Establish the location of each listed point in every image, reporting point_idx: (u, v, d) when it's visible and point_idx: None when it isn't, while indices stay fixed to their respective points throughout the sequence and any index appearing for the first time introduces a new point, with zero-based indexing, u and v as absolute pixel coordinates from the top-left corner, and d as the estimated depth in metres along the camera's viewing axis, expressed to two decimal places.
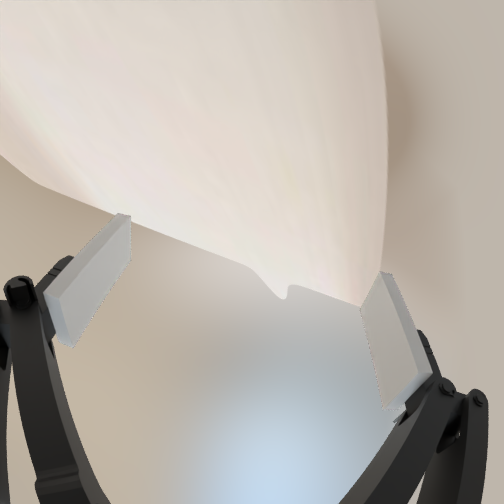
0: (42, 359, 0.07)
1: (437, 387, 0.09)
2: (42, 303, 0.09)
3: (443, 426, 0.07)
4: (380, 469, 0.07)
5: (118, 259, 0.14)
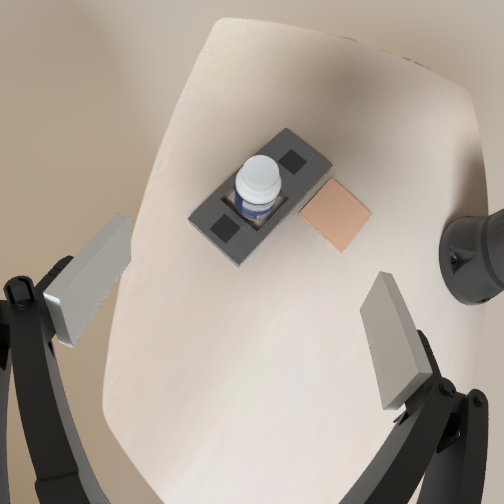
0: (42, 359, 0.07)
1: (437, 387, 0.09)
2: (42, 303, 0.09)
3: (443, 426, 0.07)
4: (380, 469, 0.07)
5: (118, 259, 0.14)
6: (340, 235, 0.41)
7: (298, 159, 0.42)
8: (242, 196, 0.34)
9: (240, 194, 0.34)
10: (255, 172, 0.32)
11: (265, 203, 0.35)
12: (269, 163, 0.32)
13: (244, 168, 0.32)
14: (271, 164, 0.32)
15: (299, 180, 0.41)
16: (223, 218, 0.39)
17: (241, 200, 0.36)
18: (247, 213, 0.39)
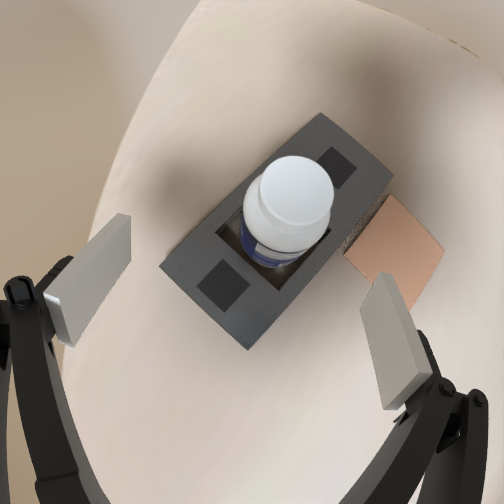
0: (42, 359, 0.07)
1: (437, 387, 0.09)
2: (42, 303, 0.09)
3: (443, 426, 0.07)
4: (380, 469, 0.07)
5: (118, 259, 0.14)
6: (405, 288, 0.24)
7: (344, 163, 0.25)
8: (257, 237, 0.18)
9: (253, 233, 0.18)
10: (287, 192, 0.15)
11: (300, 250, 0.18)
12: (314, 173, 0.16)
13: (263, 183, 0.15)
14: (318, 175, 0.16)
15: (347, 199, 0.24)
16: (220, 267, 0.22)
17: (255, 242, 0.19)
18: (263, 260, 0.22)
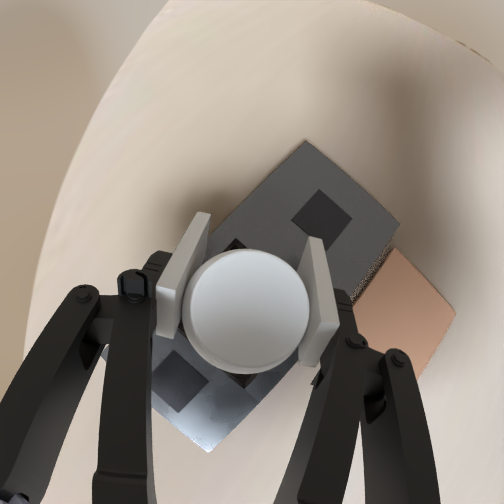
0: (143, 358, 0.08)
1: (344, 342, 0.10)
2: None
3: (362, 381, 0.09)
4: (308, 442, 0.07)
5: (201, 254, 0.16)
6: None
7: (335, 213, 0.20)
8: (201, 355, 0.12)
9: (195, 349, 0.12)
10: (232, 318, 0.10)
11: None
12: (279, 281, 0.10)
13: (195, 303, 0.10)
14: (285, 284, 0.10)
15: (337, 264, 0.19)
16: (171, 361, 0.17)
17: None
18: None
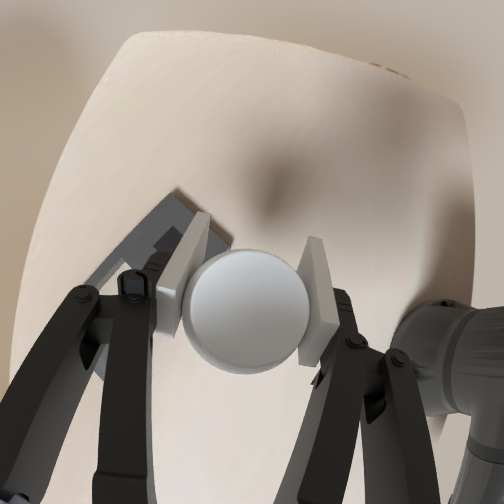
0: (142, 358, 0.08)
1: (344, 342, 0.10)
2: None
3: (362, 381, 0.09)
4: (307, 442, 0.07)
5: (201, 254, 0.16)
6: None
7: None
8: (201, 356, 0.12)
9: (195, 349, 0.12)
10: (232, 318, 0.10)
11: None
12: (279, 281, 0.10)
13: (195, 303, 0.10)
14: (285, 284, 0.10)
15: None
16: None
17: None
18: None
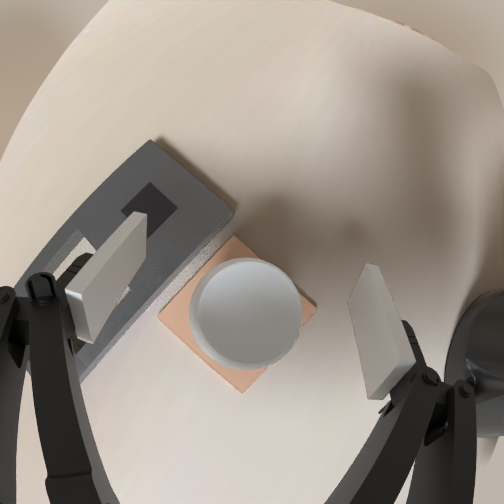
0: (61, 357, 0.07)
1: (420, 377, 0.09)
2: (63, 299, 0.10)
3: (429, 416, 0.08)
4: (367, 462, 0.07)
5: (135, 256, 0.14)
6: None
7: (161, 203, 0.21)
8: (206, 353, 0.13)
9: (201, 348, 0.14)
10: (234, 320, 0.11)
11: None
12: (275, 288, 0.11)
13: (202, 307, 0.11)
14: (281, 290, 0.11)
15: (156, 250, 0.20)
16: None
17: None
18: None
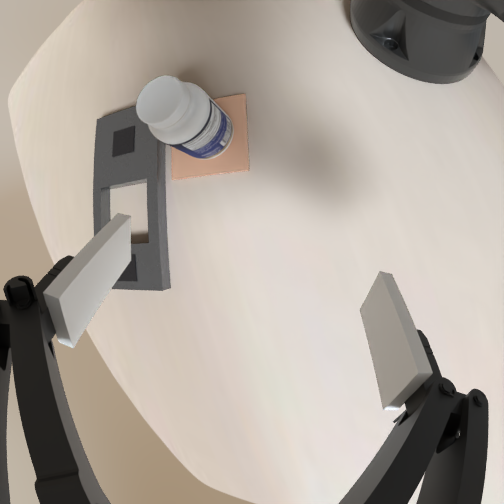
0: (42, 359, 0.07)
1: (437, 387, 0.09)
2: (42, 303, 0.09)
3: (443, 426, 0.07)
4: (380, 469, 0.07)
5: (118, 259, 0.14)
6: (230, 154, 0.28)
7: (126, 132, 0.29)
8: (175, 142, 0.22)
9: (171, 143, 0.22)
10: (154, 106, 0.19)
11: (205, 122, 0.21)
12: (160, 83, 0.19)
13: (140, 116, 0.19)
14: (162, 81, 0.19)
15: (142, 151, 0.29)
16: None
17: (182, 146, 0.23)
18: (208, 151, 0.26)
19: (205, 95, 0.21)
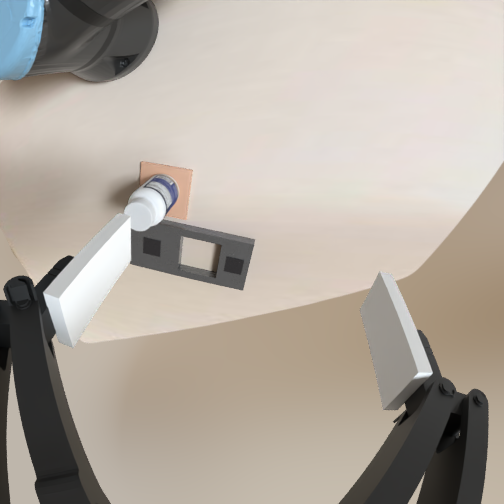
0: (42, 359, 0.07)
1: (437, 387, 0.09)
2: (42, 303, 0.09)
3: (443, 426, 0.07)
4: (380, 469, 0.07)
5: (118, 259, 0.14)
6: (179, 179, 0.43)
7: (146, 243, 0.47)
8: (164, 212, 0.38)
9: (164, 214, 0.38)
10: (141, 219, 0.35)
11: (157, 192, 0.37)
12: (128, 214, 0.35)
13: (144, 229, 0.36)
14: (127, 213, 0.35)
15: (161, 235, 0.46)
16: (227, 270, 0.49)
17: (168, 208, 0.39)
18: (174, 193, 0.41)
19: (141, 189, 0.36)
